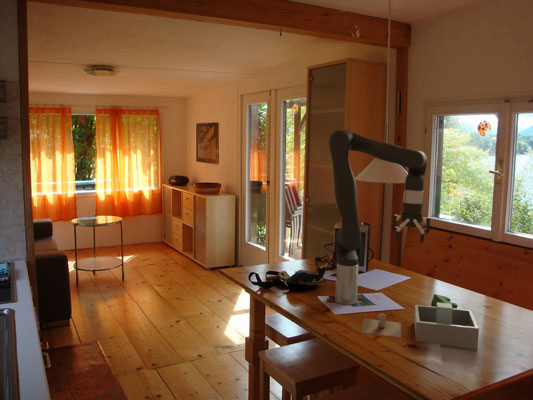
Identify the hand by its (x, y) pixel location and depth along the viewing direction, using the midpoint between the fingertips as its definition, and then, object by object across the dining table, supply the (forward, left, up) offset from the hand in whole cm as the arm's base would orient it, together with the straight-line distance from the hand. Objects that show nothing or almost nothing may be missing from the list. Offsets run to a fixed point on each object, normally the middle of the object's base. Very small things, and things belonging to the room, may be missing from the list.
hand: (409, 241), depth 186 cm
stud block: (-9, -18, -31) cm, 37 cm away
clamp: (+15, +10, -31) cm, 36 cm away
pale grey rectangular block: (+12, -18, -30) cm, 37 cm away
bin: (+13, -18, -31) cm, 38 cm away
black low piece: (-47, +30, -31) cm, 64 cm away
